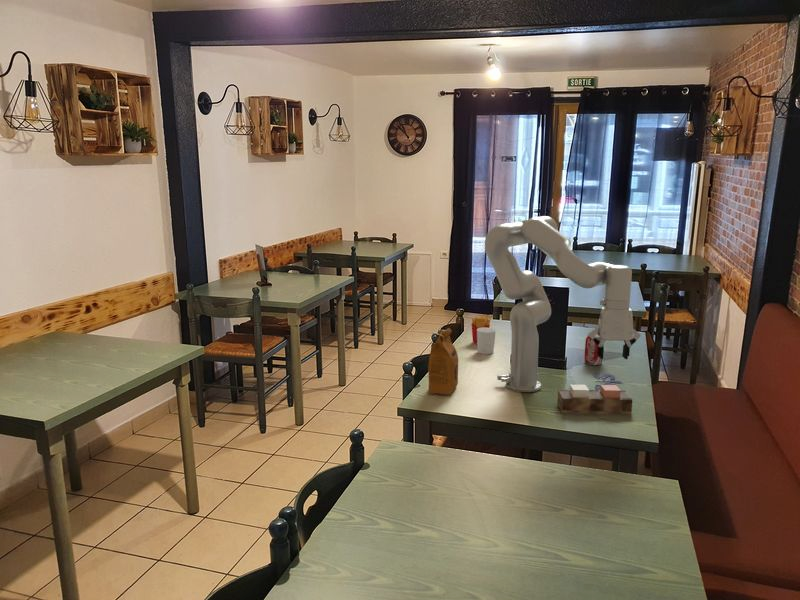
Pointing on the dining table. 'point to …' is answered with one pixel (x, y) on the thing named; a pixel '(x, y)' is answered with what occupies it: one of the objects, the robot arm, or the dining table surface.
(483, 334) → the white cup
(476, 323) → the french fries
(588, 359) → the soda can
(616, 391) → the red key
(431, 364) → the coffee package
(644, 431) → the dining table surface
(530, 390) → the robot arm
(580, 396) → the cream key
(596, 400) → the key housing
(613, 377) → the signage
